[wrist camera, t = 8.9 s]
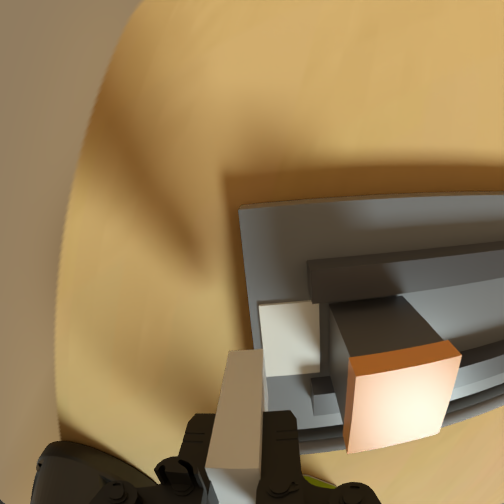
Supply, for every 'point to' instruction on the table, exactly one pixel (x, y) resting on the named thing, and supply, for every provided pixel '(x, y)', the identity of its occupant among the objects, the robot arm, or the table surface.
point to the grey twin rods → (456, 412)
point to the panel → (364, 233)
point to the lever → (388, 372)
